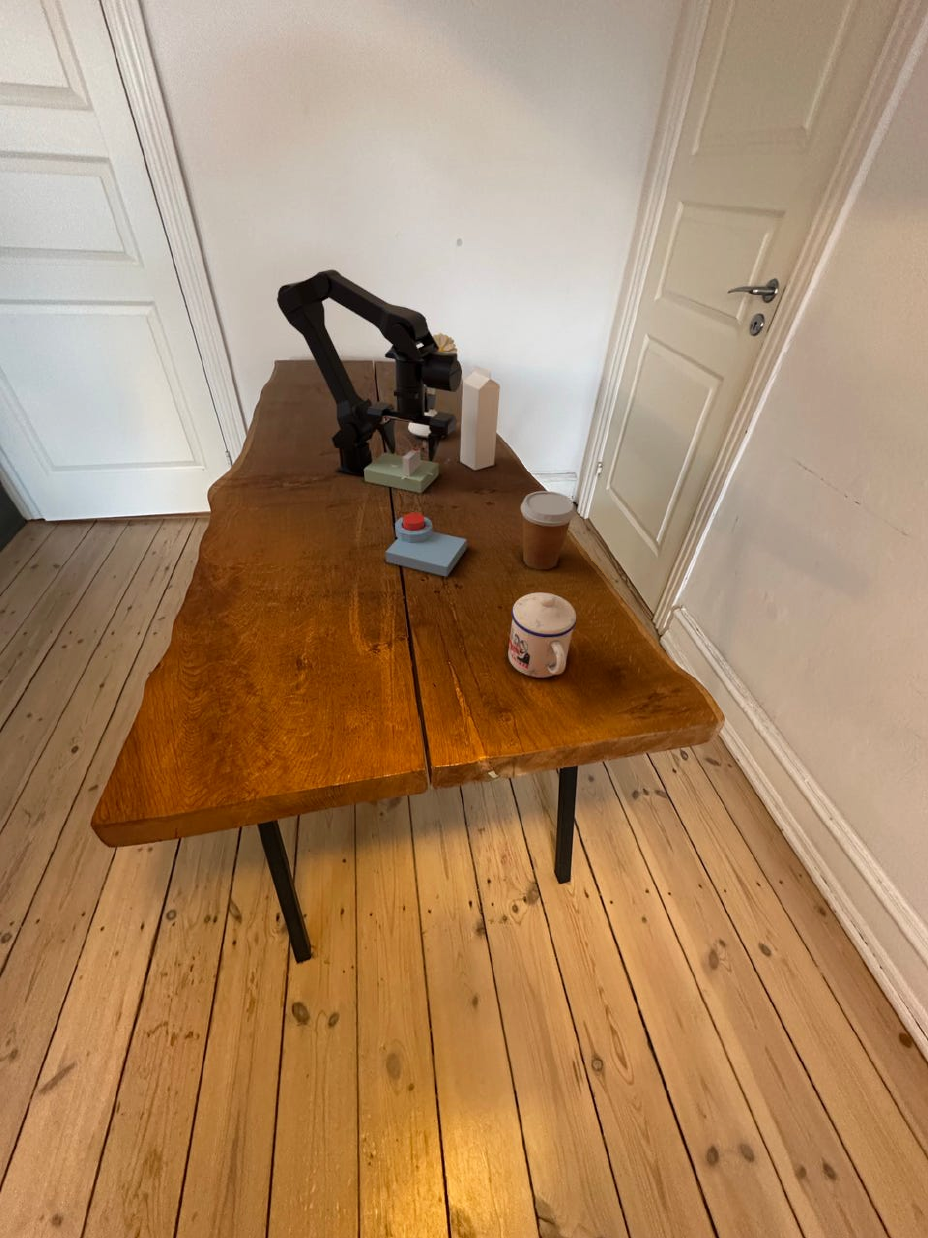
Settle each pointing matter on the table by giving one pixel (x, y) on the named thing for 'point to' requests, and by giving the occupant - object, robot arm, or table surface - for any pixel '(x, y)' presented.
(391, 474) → the panel
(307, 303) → the robot arm
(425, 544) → the button block
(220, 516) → the table surface
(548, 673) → the teacup with lid
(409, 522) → the button
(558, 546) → the disposable coffee cup
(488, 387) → the milk
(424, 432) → the flower in vase
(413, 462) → the tap handle
